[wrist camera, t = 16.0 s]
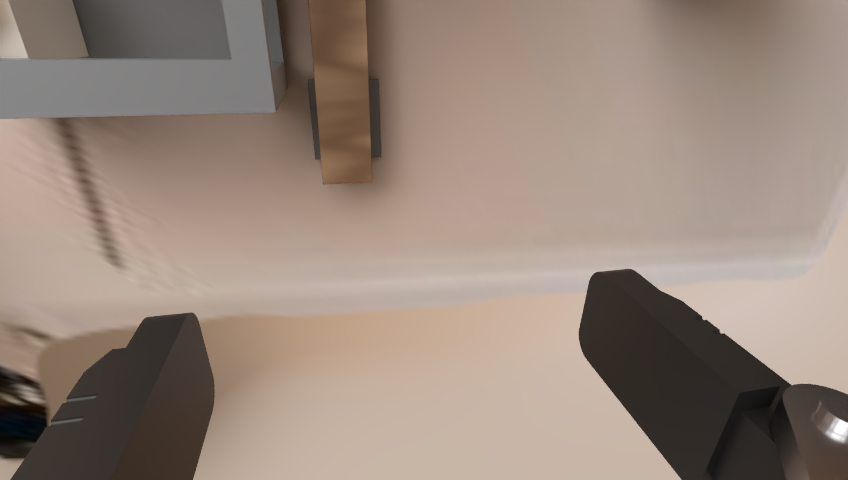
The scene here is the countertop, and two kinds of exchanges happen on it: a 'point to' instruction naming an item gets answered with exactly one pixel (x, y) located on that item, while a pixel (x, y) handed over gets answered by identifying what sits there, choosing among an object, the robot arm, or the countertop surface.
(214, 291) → the countertop surface
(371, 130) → the stylus pad
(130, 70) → the breaker guard
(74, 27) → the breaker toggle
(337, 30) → the wooden block
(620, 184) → the countertop surface
